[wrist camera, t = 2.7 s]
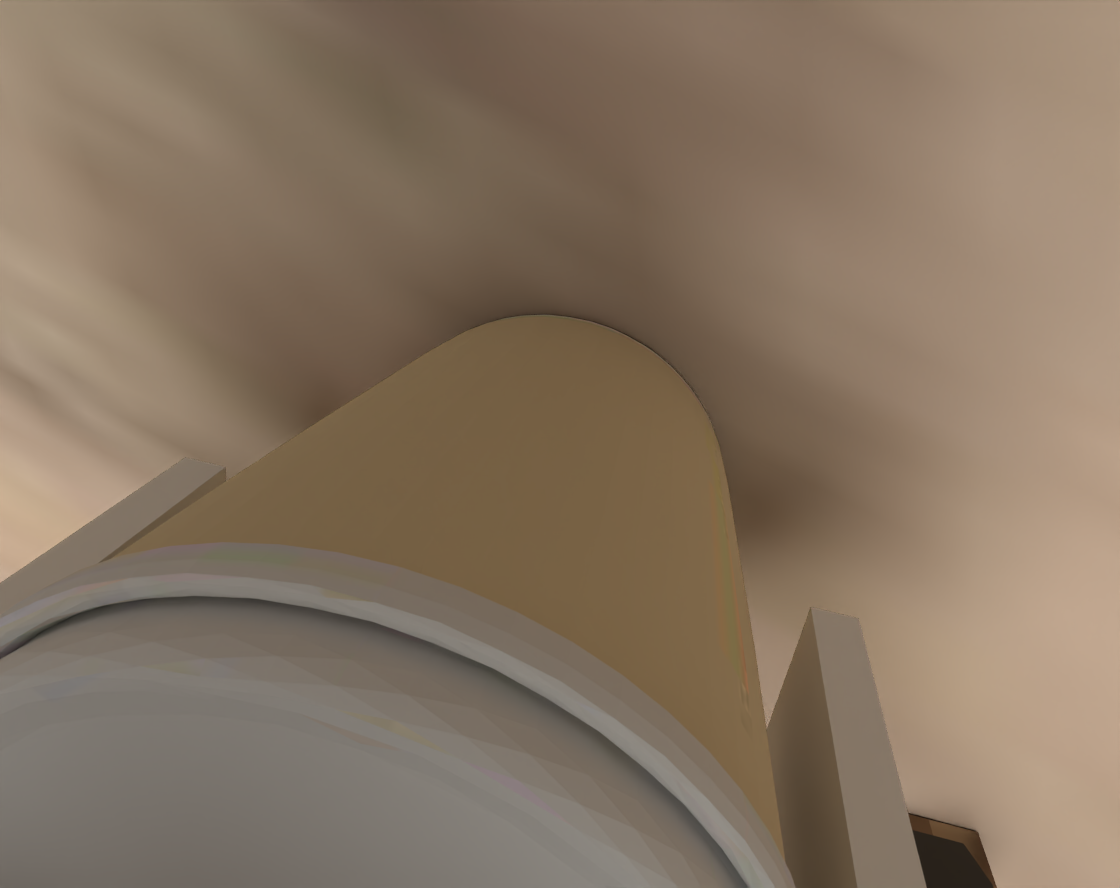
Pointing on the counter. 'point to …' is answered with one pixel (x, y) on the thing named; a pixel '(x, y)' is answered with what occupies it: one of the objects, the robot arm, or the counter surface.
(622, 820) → the coffee cup
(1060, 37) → the counter surface
